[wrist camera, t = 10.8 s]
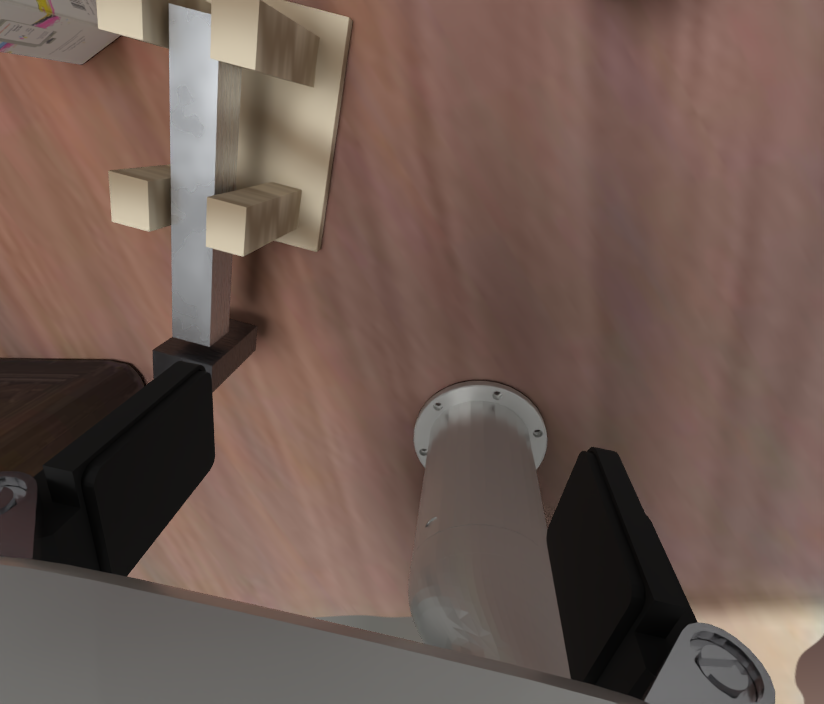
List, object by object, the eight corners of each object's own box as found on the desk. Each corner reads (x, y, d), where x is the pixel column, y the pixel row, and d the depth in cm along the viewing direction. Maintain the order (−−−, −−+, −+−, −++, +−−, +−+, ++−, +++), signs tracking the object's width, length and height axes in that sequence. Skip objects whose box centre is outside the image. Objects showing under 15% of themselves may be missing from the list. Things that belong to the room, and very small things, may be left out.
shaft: (255, 350, 40) (211, 393, 33) (207, 337, 40) (153, 378, 33) (281, 42, 29) (224, 15, 23) (216, 25, 29) (140, -7, 23)
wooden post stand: (320, 249, 38) (269, 286, 28) (182, 212, 38) (86, 237, 28) (352, 21, 30) (298, -30, 21) (182, -24, 31) (53, -95, 21)
